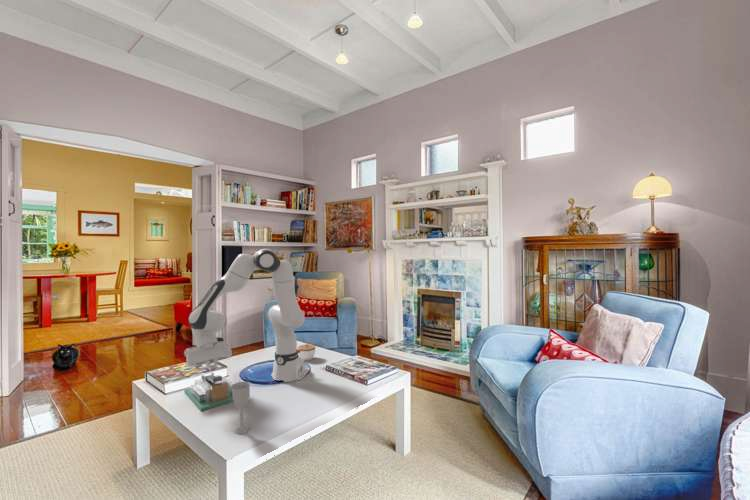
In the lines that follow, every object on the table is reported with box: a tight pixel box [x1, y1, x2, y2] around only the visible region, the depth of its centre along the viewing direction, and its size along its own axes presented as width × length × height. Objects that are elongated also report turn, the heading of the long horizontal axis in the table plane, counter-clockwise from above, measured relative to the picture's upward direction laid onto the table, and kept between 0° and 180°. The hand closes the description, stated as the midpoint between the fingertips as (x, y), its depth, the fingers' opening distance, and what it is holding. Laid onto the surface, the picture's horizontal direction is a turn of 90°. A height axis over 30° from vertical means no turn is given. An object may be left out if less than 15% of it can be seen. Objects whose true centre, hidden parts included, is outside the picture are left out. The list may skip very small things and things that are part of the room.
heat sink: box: [190, 371, 234, 402], centre depth 169 cm, size 16×15×7 cm
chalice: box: [231, 381, 252, 435], centre depth 138 cm, size 7×7×18 cm
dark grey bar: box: [204, 374, 223, 383], centre depth 169 cm, size 16×4×2 cm, turn 42°
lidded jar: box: [297, 343, 316, 362], centre depth 221 cm, size 11×11×9 cm
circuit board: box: [183, 387, 234, 412], centre depth 170 cm, size 26×18×1 cm
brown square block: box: [210, 381, 228, 403], centre depth 162 cm, size 2×7×7 cm, turn 132°
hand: (213, 369), depth 168 cm, fingers closed
